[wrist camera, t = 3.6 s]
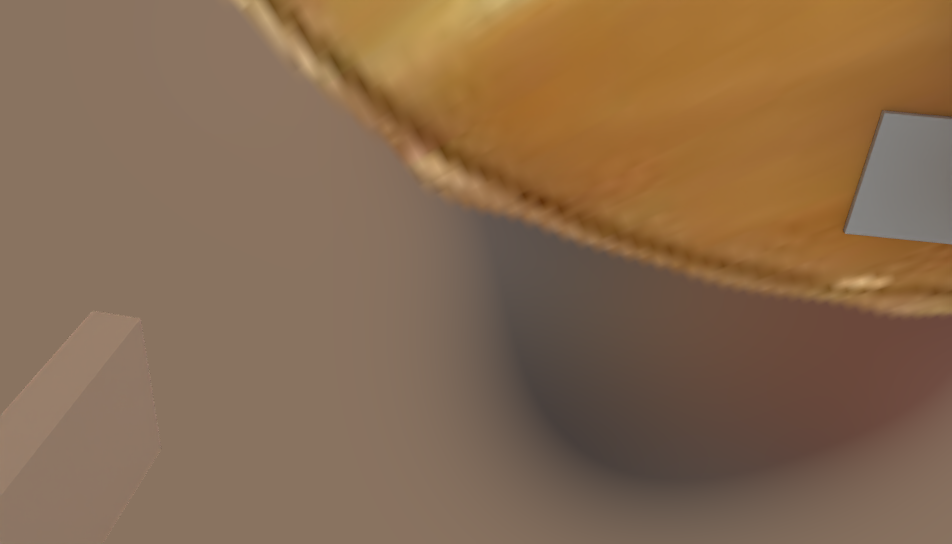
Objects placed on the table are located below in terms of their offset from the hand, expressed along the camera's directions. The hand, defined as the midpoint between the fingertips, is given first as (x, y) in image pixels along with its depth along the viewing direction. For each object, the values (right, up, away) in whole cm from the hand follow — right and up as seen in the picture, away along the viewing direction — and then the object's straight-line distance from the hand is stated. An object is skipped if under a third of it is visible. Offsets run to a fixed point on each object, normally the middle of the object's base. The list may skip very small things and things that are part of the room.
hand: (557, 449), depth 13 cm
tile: (+26, +9, +39) cm, 48 cm away
